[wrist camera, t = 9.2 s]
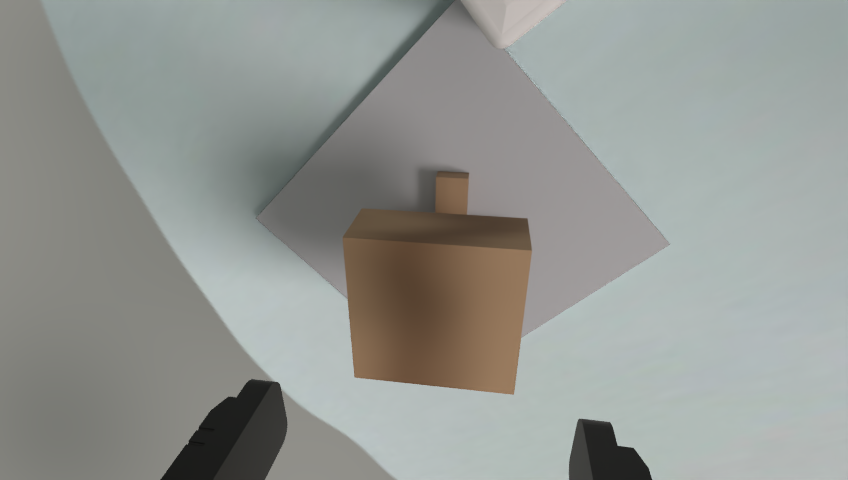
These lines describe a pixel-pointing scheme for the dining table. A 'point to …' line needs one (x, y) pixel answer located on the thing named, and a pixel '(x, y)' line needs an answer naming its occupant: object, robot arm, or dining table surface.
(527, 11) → the blocky figurine
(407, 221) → the wooden pedestal stool
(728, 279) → the dining table surface
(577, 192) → the mat
